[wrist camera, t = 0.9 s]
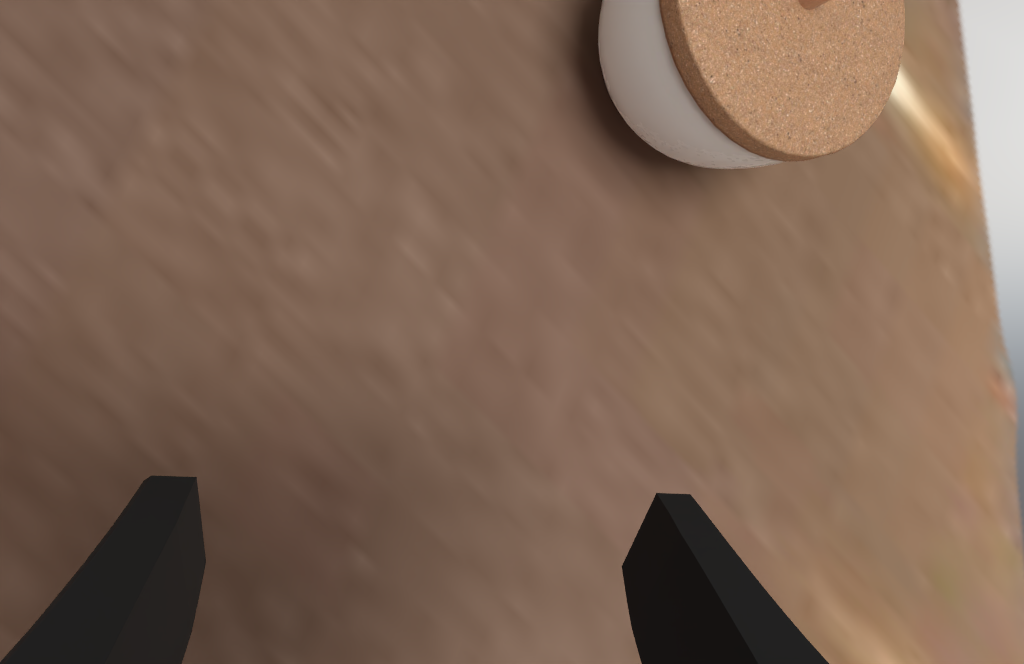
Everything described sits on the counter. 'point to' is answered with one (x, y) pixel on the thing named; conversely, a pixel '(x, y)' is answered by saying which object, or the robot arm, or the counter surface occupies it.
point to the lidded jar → (750, 75)
